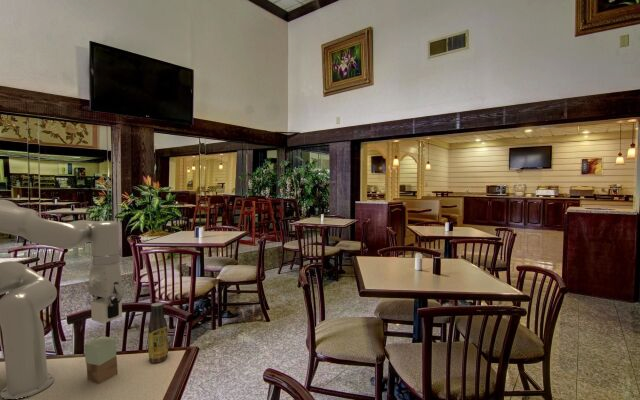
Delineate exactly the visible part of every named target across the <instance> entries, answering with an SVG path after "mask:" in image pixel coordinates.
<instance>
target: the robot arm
mask: <svg viewBox="0 0 640 400" xmlns="http://www.w3.org/2000/svg"><path fill="white" fill-rule="evenodd" d="M0 233H2V234H8V235H13V236H19V237H22V238H23V239H25V240H27V241H30V242H31V243H34V244H38V245H42V246H46V247H47V246H48V247H51V248H52V247H54V248H60V249H71V248H75V247H77V246H80V245H84V244H85V245H86V244H88V243H90V244H91V247H90V249H91V250H90V251H91V265H90V269H89V277H88V279H89V280H88V292H89V294H90V295H91V296H92V297H93V300H92V301H94V300H97V299H101V298H107V299H108V303H109V306H108V318H109V319H110V318H113V317H116V316H118V315H119V303H120V300H121V298H122V299H123V297H124V293H123V291H122V290H123V289H122V288H123V287H122V273H121V267H120V225H119V223H118V222H117V221H115V220H99V221H95V220H88V219H81V220H80V219H79V220H74V221H69V222H62V221H55V220H51V219H50V220H49V219H46V218H42V217H39V214H38V211H36V210H35V209H32V208H27V207H23V206H22V207H21V206H18V205H17V204H16V203H15V202H13V201H12V200H11V201H10V200H7V199H0ZM1 295H3V296H1ZM57 295H58V290H57V288H56V286H55V284H53V283H52V282H51V281H50V280H48V278H46V277H44V276H42V275H41V274H39V273H38V272H37V271H35V270H34V269H33V268H32V269H31V268H30V267H28V266H27V265H25V264H23V263H21V262H17V261H12V260H11V261H9V260H8V261H3V262H0V296H1V297H0V328H1V335H2V343H3V344H2V345H3V353H4V364H5V365H4V366H5V377H6V378H5V379H6V386H5V387H4V388H3V389H2V390H1V391H0V398H1V397H2V398H4V399H16V398H21V397H25V398H28V397H31V396H34V395H37V394H39V393H40V392H42V391H44V390H46V389H48V388H49V387H50V386H52V384H53V383H54V381H55V376H54V375H53V374H52V373H48V365H47V364H48V363H47V353H46V352H47V351H46V339H45V328H44V324H43V321H42V319H41V318H40V316H39V312H41V311H42V310H45V308H47V307H49V306H50V305H51V304H53V303H54V301H55V300H56V298H57ZM111 297H115V298H114V299H113V300H112V298H111ZM27 396H28V397H27ZM2 398H1V399H2ZM4 399H3V400H4Z"/></svg>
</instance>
